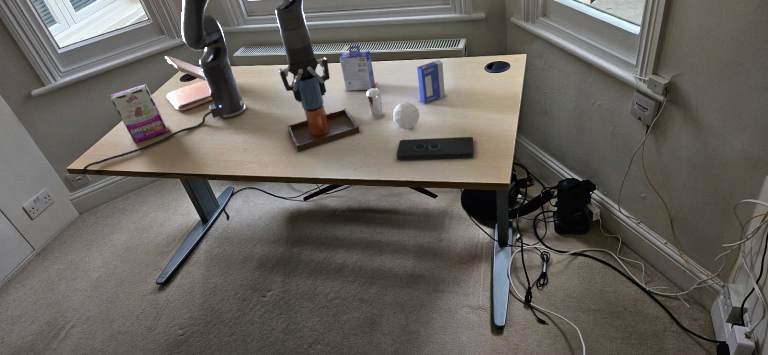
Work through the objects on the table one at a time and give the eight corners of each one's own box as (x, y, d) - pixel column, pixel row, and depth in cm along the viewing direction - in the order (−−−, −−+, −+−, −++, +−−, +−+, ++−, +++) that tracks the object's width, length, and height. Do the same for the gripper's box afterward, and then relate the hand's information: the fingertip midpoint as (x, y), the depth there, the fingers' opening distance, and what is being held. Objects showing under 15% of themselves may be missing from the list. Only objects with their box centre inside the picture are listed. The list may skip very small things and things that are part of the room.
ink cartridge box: (375, 83, 168) (369, 43, 160) (372, 89, 164) (365, 49, 155) (349, 84, 170) (341, 45, 162) (345, 91, 166) (337, 51, 158)
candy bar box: (166, 126, 163) (146, 83, 154) (168, 132, 159) (147, 87, 150) (133, 137, 160) (110, 94, 150) (134, 143, 156) (110, 99, 147)
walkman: (425, 104, 149) (421, 68, 142) (420, 101, 151) (416, 66, 144) (445, 96, 151) (443, 61, 145) (441, 93, 154) (438, 58, 147)
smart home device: (400, 139, 130) (473, 135, 126) (400, 144, 131) (473, 141, 127) (396, 155, 124) (473, 152, 120) (396, 161, 125) (473, 158, 121)
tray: (298, 152, 136) (296, 146, 135) (289, 131, 147) (287, 125, 146) (360, 132, 140) (358, 126, 139) (346, 114, 151) (345, 108, 150)
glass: (304, 112, 135) (297, 83, 130) (300, 103, 140) (292, 75, 135) (326, 105, 137) (319, 77, 131) (320, 97, 142) (314, 69, 137)
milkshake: (388, 111, 148) (383, 82, 143) (381, 120, 145) (376, 90, 139) (375, 110, 150) (370, 82, 145) (368, 118, 146) (362, 89, 141)
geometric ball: (402, 133, 141) (389, 110, 141) (425, 121, 140) (413, 97, 140) (398, 134, 134) (385, 109, 134) (423, 121, 132) (410, 96, 132)
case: (233, 93, 179) (218, 53, 170) (178, 113, 171) (160, 72, 162) (216, 79, 194) (202, 41, 185) (165, 97, 185) (148, 59, 176)
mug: (308, 129, 145) (302, 106, 141) (326, 123, 147) (320, 100, 142) (314, 141, 139) (308, 117, 134) (333, 135, 140) (327, 111, 135)
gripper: (319, 32, 132) (331, 86, 142) (269, 45, 129) (285, 99, 139) (325, 39, 126) (337, 95, 136) (273, 53, 123) (289, 109, 133)
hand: (311, 97), depth 137 cm, fingers closed on glass, 6 cm apart
